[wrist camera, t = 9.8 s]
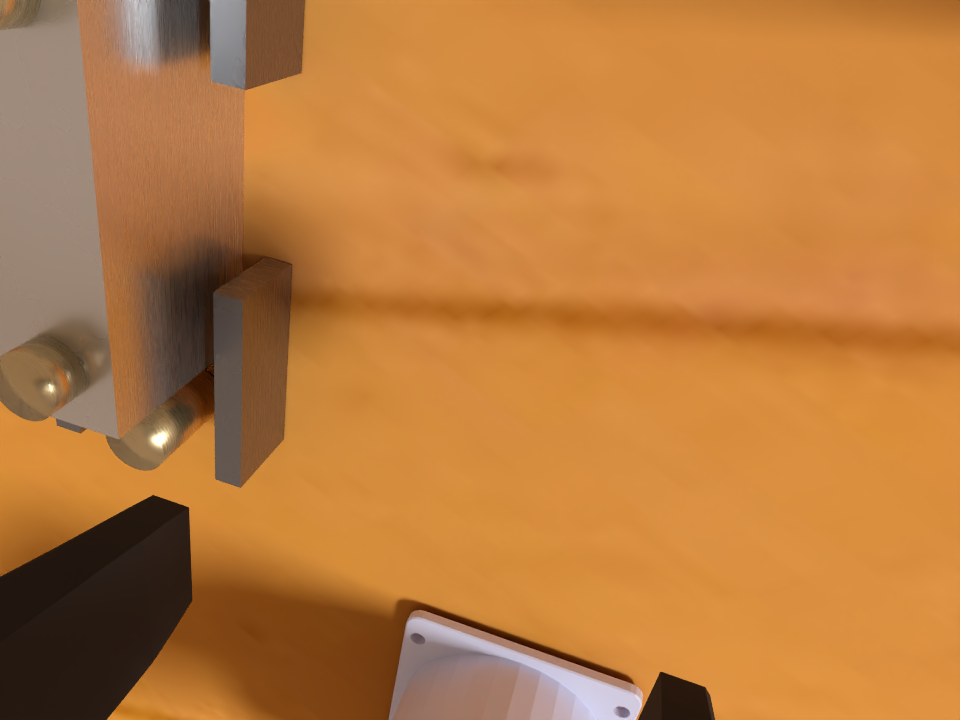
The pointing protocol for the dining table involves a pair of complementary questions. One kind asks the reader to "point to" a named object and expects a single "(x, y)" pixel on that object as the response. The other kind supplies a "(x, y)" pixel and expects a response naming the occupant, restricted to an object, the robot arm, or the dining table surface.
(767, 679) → the dining table surface
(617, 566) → the dining table surface
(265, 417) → the end link
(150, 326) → the block with brass knobs
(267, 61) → the end link
